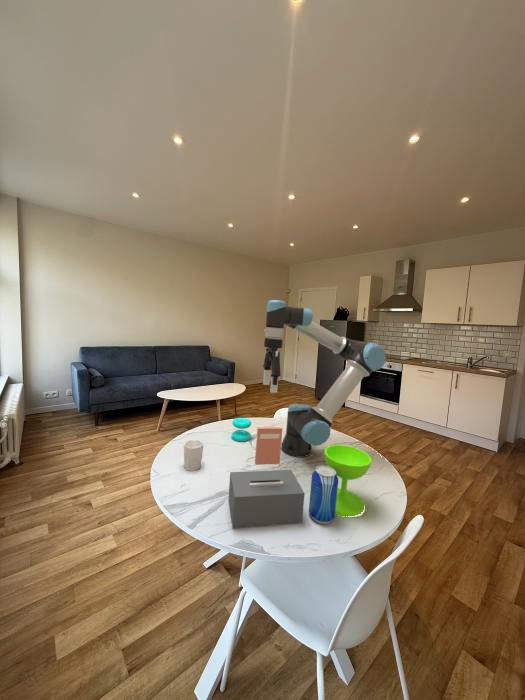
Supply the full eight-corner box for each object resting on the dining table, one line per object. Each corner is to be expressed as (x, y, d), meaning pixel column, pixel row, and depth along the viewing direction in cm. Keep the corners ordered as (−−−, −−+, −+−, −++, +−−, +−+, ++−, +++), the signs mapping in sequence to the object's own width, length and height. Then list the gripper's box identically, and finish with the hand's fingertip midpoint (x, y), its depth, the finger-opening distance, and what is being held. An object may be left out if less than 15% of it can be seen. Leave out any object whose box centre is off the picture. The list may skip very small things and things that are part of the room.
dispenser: (288, 495, 103) (291, 468, 102) (301, 522, 90) (304, 491, 89) (228, 499, 99) (230, 470, 98) (232, 528, 85) (234, 495, 84)
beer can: (306, 507, 97) (310, 463, 96) (330, 509, 97) (335, 465, 96) (310, 524, 89) (315, 476, 87) (337, 526, 89) (342, 478, 88)
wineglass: (326, 484, 112) (330, 441, 111) (368, 499, 105) (374, 452, 103) (313, 506, 98) (318, 456, 97) (361, 524, 91) (367, 471, 89)
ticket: (278, 462, 94) (281, 427, 93) (279, 463, 93) (282, 428, 92) (254, 462, 92) (257, 427, 91) (255, 464, 91) (258, 428, 90)
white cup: (197, 473, 114) (198, 449, 113) (179, 469, 115) (180, 446, 114) (205, 464, 121) (206, 441, 120) (188, 460, 123) (189, 438, 122)
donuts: (253, 418, 153) (248, 424, 144) (252, 436, 154) (247, 443, 145) (236, 415, 155) (230, 421, 146) (234, 433, 156) (228, 440, 147)
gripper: (259, 335, 128) (255, 381, 131) (272, 339, 104) (267, 396, 106) (275, 336, 130) (271, 382, 132) (291, 341, 106) (286, 396, 108)
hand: (269, 388), depth 119 cm, fingers open, 13 cm apart
